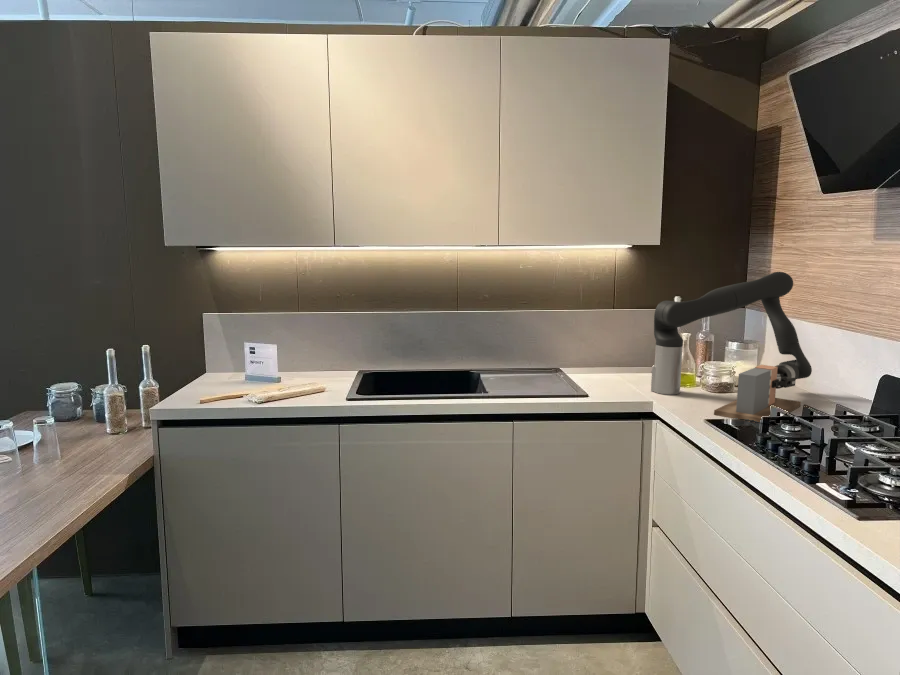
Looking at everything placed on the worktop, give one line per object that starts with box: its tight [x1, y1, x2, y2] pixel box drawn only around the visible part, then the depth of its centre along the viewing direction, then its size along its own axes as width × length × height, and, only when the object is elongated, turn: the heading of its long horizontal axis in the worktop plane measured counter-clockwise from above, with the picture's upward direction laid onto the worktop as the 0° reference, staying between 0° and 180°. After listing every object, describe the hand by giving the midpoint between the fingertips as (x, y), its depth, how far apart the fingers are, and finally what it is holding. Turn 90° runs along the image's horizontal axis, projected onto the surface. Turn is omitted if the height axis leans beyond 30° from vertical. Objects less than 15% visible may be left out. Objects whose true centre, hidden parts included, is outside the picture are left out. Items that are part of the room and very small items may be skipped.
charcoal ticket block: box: [736, 367, 772, 415], centre depth 194 cm, size 5×14×12 cm, turn 136°
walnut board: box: [713, 397, 802, 422], centre depth 200 cm, size 16×32×2 cm, turn 136°
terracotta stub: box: [754, 364, 778, 406], centre depth 202 cm, size 5×6×12 cm
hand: (763, 383), depth 201 cm, fingers closed on terracotta stub, 5 cm apart
